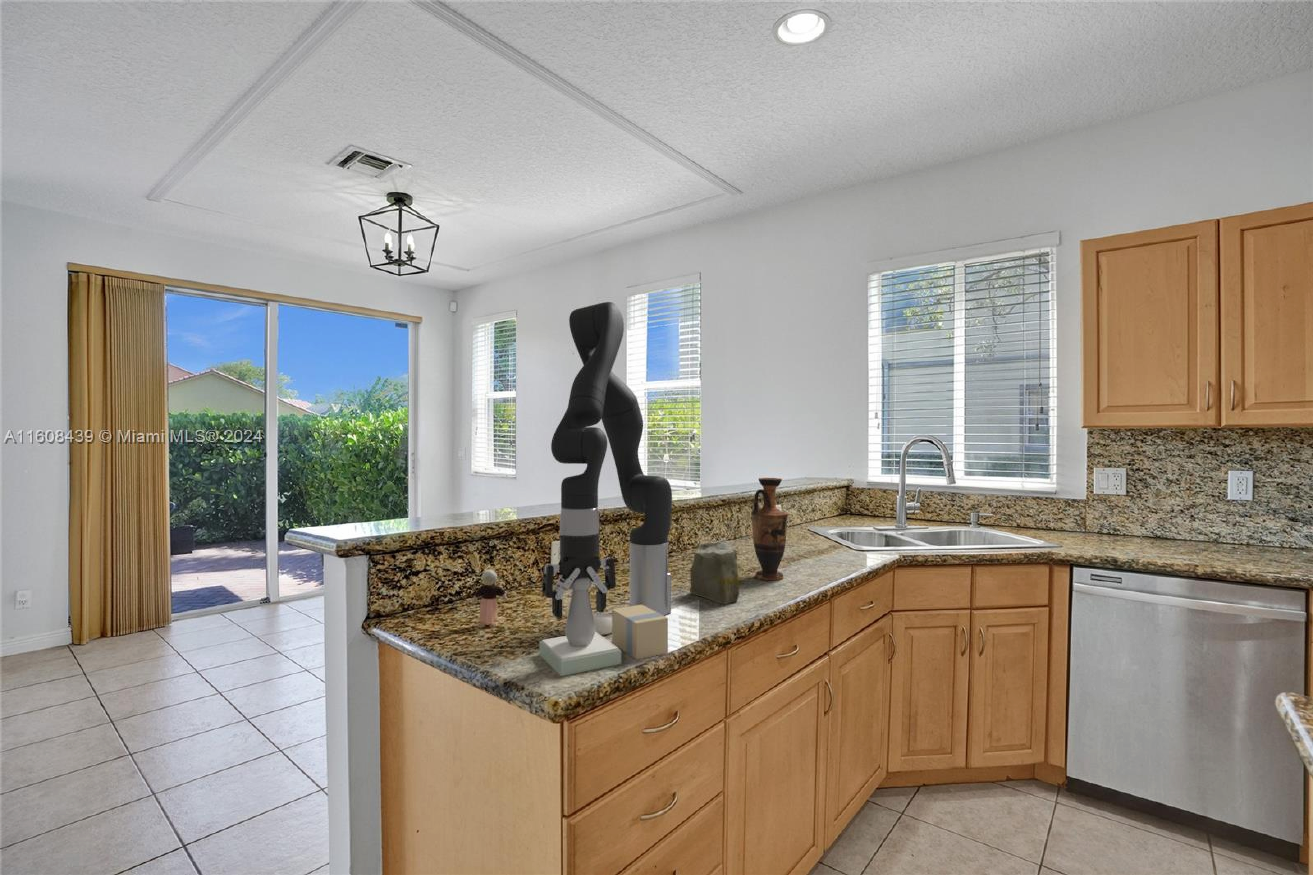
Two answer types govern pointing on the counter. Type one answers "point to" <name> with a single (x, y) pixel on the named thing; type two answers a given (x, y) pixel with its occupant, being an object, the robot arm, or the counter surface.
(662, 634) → the kraft carton
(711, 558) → the stone block
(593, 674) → the counter surface
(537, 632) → the counter surface
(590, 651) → the podium
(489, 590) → the grandmother figurine
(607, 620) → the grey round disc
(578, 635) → the salt shaker
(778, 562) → the vase
